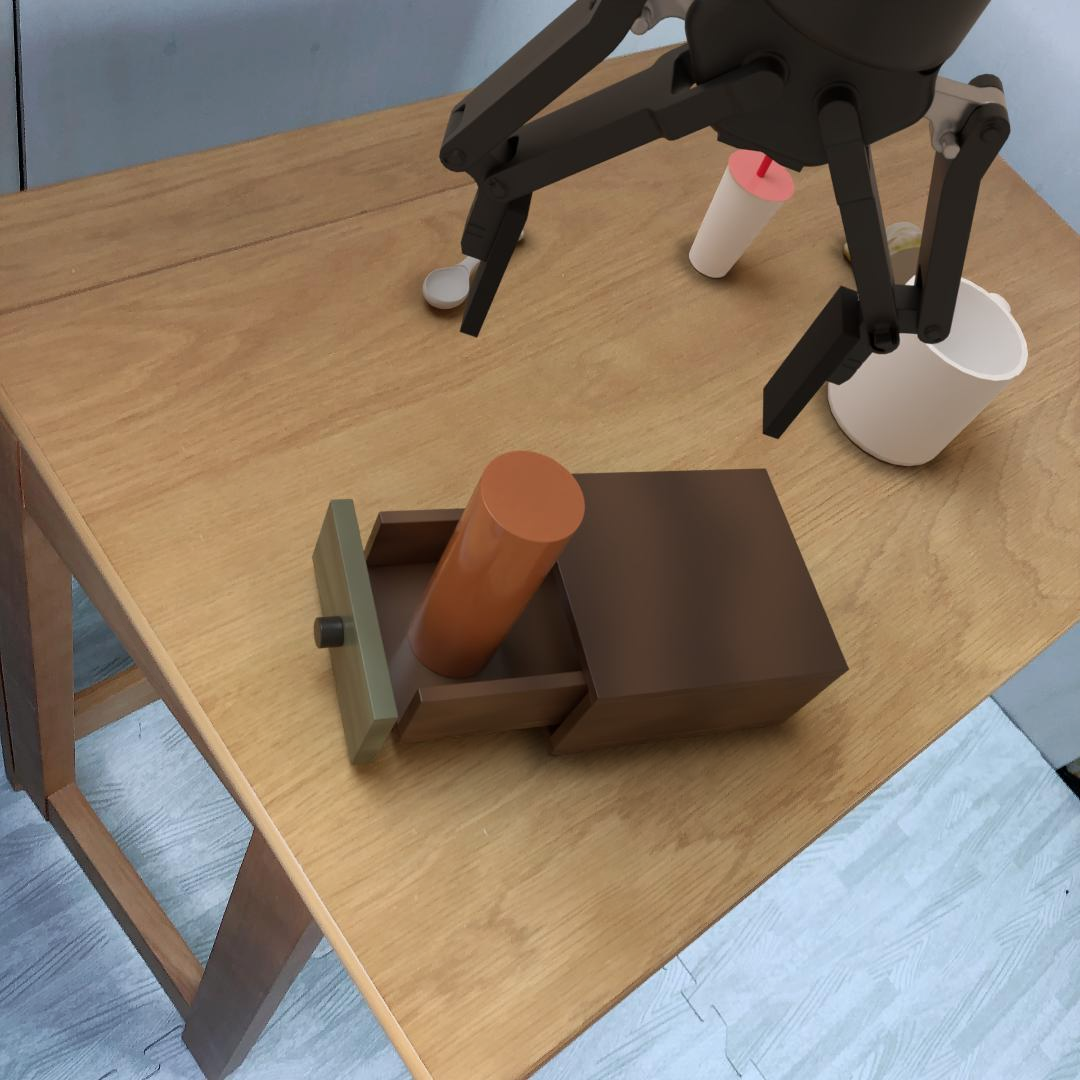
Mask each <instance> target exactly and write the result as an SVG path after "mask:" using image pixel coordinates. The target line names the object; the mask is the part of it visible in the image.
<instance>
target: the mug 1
mask: <svg viewBox="0 0 1080 1080" xmlns="http://www.w3.org/2000/svg"><path fill="white" fill-rule="evenodd" d="M885 230H886V236H887V241H888V247H889V252H890V258H891V263H892V268H893V274H894V279H895V284H899V285H905V284H906V283H907V282H908V281H909V280H910V279H911V278H912V277H913V276H914V275H916V269H917V263H918V257H919V250H920V244H921V238H922V232H923V229H921V228H920V227H919V226H917V225H916V224H914V223H912V222H907V221H900V222H895V223H892V224H891V225H889V226H887V227H885ZM843 255H844V256H845V257H846V259H847V260H848V261H849V262H851V259H850V255H849V250H848V245H847V242H845V243H844V245H843Z"/></svg>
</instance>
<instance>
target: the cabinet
mask: <svg viewBox="0 0 1080 1080" xmlns="http://www.w3.org/2000/svg"><path fill="white" fill-rule="evenodd" d="M571 474H572V476H573V477H574V478H575V480H576V481H577V482H578V484H579V486H580V488H581V491H582V493H583V497H584V503H585V512H584V517H583V520H582V522H581V524H580V526H579V527H578V529H577V530H576V532H575V533H574V535H573V537H572V538H571V540H570V541H569V543H568V544H567V546H566V547H565V549H564V550H563V552H562V553H561V555H560V556H559V558H558V559H557V561H556V562H555V564H554V566H553V567H552V569H553V572H554V576H555V579H556V582H557V586H558V589H559V593H560V596H561V599H562V603H563V606H564V609H565V613H566V616H567V620H568V623H569V626H570V630H571V633H572V636H573V640H574V643H575V647H576V650H577V653H578V657H579V660H580V663H581V667H582V670H583V674H584V677H585V680H586V684H587V687H588V690H589V692H588V693H587V694H586V696H585V697H584V698H583V699H582V700H581V702H580V703H579V704H578V705H577V706H576V707H575V709H574V710H573V711H572V712H571V713H570V715H569V716H568V717H567V718H566V719H565V720H564V722H563V723H562V724H556V725H548V726H540V729H541V733H542V736H543V740H544V743H545V744H544V745H545V747H546V750H547V755H548V756H555V755H556V756H557V755H565V754H572V753H579V752H586V751H587V752H588V751H594V750H595V751H596V750H602V749H609V748H617V747H624V746H631V745H638V744H646V743H652V742H661V741H667V740H668V741H669V740H675V739H682V738H683V739H684V738H689V737H696V736H697V737H698V736H703V735H712V734H719V733H727V732H735V731H740V730H741V731H742V730H748V729H756V728H763V727H764V728H765V727H769V726H771V727H772V726H778V725H783V724H784V723H785V722H787V721H788V720H790V718H792V717H793V716H794V715H795V714H796V713H798V712H799V711H800V710H801V709H802V708H804V707H805V706H806V705H807V704H809V703H810V702H811V701H812V700H814V699H815V698H816V697H817V696H819V695H820V694H821V693H822V692H823V691H824V690H826V689H827V688H828V687H829V686H831V685H832V684H833V683H834V682H836V681H837V680H838V679H839V678H841V677H842V676H843V675H845V674H846V673H847V672H848V671H850V668H849V665H848V663H847V661H846V658H845V656H844V653H843V651H842V648H841V646H840V644H839V641H838V639H837V636H836V635H835V634H836V633H835V631H834V629H833V627H832V624H831V622H830V620H829V617H828V614H827V612H826V610H825V607H824V605H823V603H822V601H821V598H820V595H819V593H818V591H817V588H816V586H815V584H814V581H813V578H812V576H811V574H810V571H809V569H808V566H807V564H806V562H805V559H804V557H803V555H802V552H801V549H800V548H799V545H798V543H797V540H796V537H795V535H794V533H793V531H792V527H791V526H790V523H789V521H788V518H787V516H786V514H785V511H784V508H783V506H782V504H781V501H780V499H779V496H778V494H777V492H776V490H775V487H774V485H773V482H772V480H771V477H770V474H769V472H768V471H767V468H765V467H763V468H762V467H761V468H732V469H731V468H727V469H725V468H724V469H691V470H689V469H687V470H656V471H655V470H653V471H652V470H651V471H616V472H615V471H614V472H582V473H581V472H576V473H571Z"/></svg>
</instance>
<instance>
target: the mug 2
mask: <svg viewBox="0 0 1080 1080" xmlns="http://www.w3.org/2000/svg"><path fill="white" fill-rule="evenodd" d="M914 281H915V275H914V276H913V277H912V278H911V279H910V280H909V281H908V282H907V283H906V284H905V285H914ZM899 335H900V345H899V346H898V348H897V349H896V350H894V351H893V352H891V353H888V354H876V353H873V352H872V354H871V355H870V356H869V357H868V358H867V360H866V361H865V362H864V363H863V364H862V365H861V367H860V368H859V369H857V371H856V373H855V374H854V375H853V376H852V377H851V379H850V380H848V381H846V382H844V383H843V384H841V385H836V384H833V383H831V382H828V383H827V401H828V404H829V408H830V411H831V414H832V416H833V417H834V419H835V421H836V423H837V425H838V427H839V428H840V429H841V430H842V431H843V432H844V434H845V435H846V436H847V437H848V439H849V440H851V442H853V443H854V444H855V445H856V446H857V447H859V448H860V449H861V450H862V451H864V452H865V453H867V454H868V455H871V456H872V457H874V458H876V459H878V460H880V461H883V462H886V463H888V464H891V465H895V466H902V467H903V466H904V467H912V466H920V465H924V464H926V463H928V462H930V461H932V460H934V459H935V458H936V457H937V456H938V455H939V454H940V453H941V452H942V451H943V450H944V449H945V448H946V447H947V446H948V445H949V444H950V443H951V442H952V441H953V440H954V439H955V438H956V437H957V436H958V435H959V434H960V433H961V432H962V431H963V430H964V429H965V428H966V427H967V426H968V425H970V423H972V422H973V420H974V419H976V418H977V416H979V414H980V413H982V411H983V410H985V409H986V408H987V407H988V406H989V405H990V404H991V403H992V402H993V401H994V400H995V399H996V398H997V397H998V396H999V395H1000V394H1001V393H1002V392H1003V391H1004V390H1005V389H1006V388H1007V387H1008V386H1009V385H1010V384H1011V383H1012V382H1013V381H1014V380H1016V378H1017V377H1018V376H1019V375H1020V374H1021V373H1022V371H1024V369H1025V368H1026V366H1027V362H1028V359H1029V358H1028V357H1029V351H1028V345H1027V340H1026V338H1025V336H1024V333H1023V331H1022V329H1021V327H1020V325H1019V323H1018V322H1017V321H1016V319H1015V318H1014V316H1013V315H1012V309H1011V305H1010V304H1009V303H1008V301H1007V300H1006V299H1005V298H1004V297H1003V296H1002V295H1000V294H998V293H994V292H989V291H987V290H986V289H984V288H983V287H981V286H979V285H978V284H976V283H974V282H972V281H970V280H969V279H966V278H964V277H962V276H961V281H960V286H959V291H958V296H957V301H956V306H955V311H954V316H953V320H952V325H951V330H950V334H949V336H948V337H947V338H946V339H945V340H944V341H942V342H940V343H936V344H926V343H923V342H922V341H920V340H919V338H918V337H917V334H907V333H899Z"/></svg>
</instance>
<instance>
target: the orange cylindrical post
mask: <svg viewBox="0 0 1080 1080" xmlns="http://www.w3.org/2000/svg"><path fill="white" fill-rule="evenodd" d="M572 474H573V473H571V472H570V471H569V470H568V469H567V468H566V467H565V466H563V465H562V464H561V463H559V462H558V461H556V460H555V459H554V458H551V457H550V456H547V455H546V454H542V453H539V452H536V451H530V450H513V451H508V452H505V453H502V454H500V455H498V456H497V457H495V458H494V459H492V460H491V461H490V462H489V463H488V464H487V465H486V467H484V470H483V472H482V474H481V476H480V477H479V480H478V481H477V484H476V486H475V488H474V490H473V492H472V494H471V496H470V498H469V500H468V502H467V504H466V506H465V507H464V508H465V510H464V512H463V514H462V516H461V518H460V520H459V522H458V524H457V526H456V528H455V530H454V532H453V534H452V536H451V538H450V540H449V542H448V544H447V546H446V548H445V550H444V552H443V554H442V556H441V558H440V560H439V562H438V564H437V566H436V568H435V570H434V572H433V574H432V576H431V578H430V580H429V582H428V584H427V586H426V588H425V590H424V592H423V594H422V596H421V598H420V600H419V602H418V604H417V606H416V608H415V610H414V612H413V614H412V616H411V619H410V622H409V626H408V638H409V642H410V646H411V648H412V650H413V652H414V654H415V655H416V657H417V658H418V659H419V660H420V662H421V663H422V664H423V665H425V666H426V667H427V668H429V669H430V670H432V671H433V672H435V673H437V674H440V675H443V676H446V677H452V678H463V677H469V676H472V675H475V674H477V673H479V672H480V671H482V670H483V669H484V668H486V667H487V666H488V664H489V663H490V662H491V660H492V659H493V657H494V656H495V654H496V653H497V651H498V650H499V648H500V646H501V645H502V643H503V642H504V640H505V639H506V637H507V636H508V634H509V633H510V631H511V630H512V628H513V627H514V625H515V624H516V622H517V621H518V619H519V617H520V616H521V614H522V613H523V611H524V610H525V608H526V607H527V605H528V604H529V602H530V601H531V599H532V598H533V596H534V595H535V593H536V592H537V590H538V588H539V587H540V585H541V584H542V582H543V581H544V579H545V578H546V576H547V575H548V573H549V572H550V570H551V569H552V567H553V566H554V564H555V562H556V561H557V559H558V558H559V556H560V555H561V553H562V552H563V550H564V549H565V547H566V546H567V544H568V543H569V541H570V540H571V538H572V537H573V535H574V533H575V532H576V530H577V529H578V527H579V526H580V524H581V522H582V520H583V517H584V512H585V503H584V497H583V493H582V491H581V488H580V486H579V484H578V482H577V481H576V480H575V478H574V477H573V476H572Z"/></svg>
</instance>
